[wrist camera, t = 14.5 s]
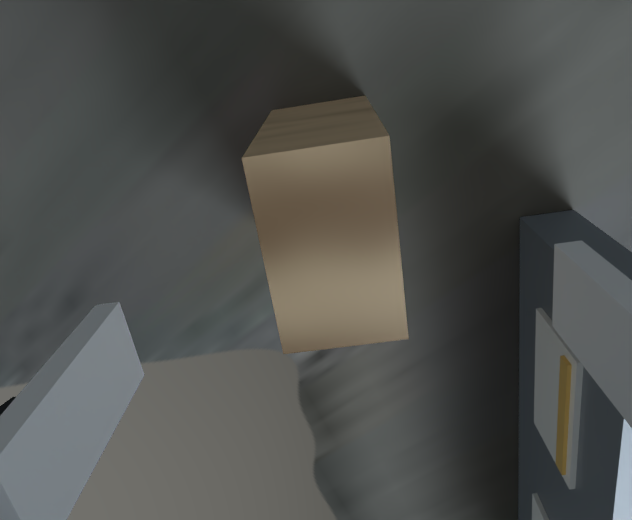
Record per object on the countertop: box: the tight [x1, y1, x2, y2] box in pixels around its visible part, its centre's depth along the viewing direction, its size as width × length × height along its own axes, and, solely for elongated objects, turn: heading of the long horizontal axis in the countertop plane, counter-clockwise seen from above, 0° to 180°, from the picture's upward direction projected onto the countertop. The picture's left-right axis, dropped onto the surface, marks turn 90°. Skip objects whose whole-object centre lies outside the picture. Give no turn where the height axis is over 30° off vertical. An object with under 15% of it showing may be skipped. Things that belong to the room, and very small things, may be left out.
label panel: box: [518, 210, 632, 520], centre depth 30 cm, size 30×4×12 cm, turn 9°
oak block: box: [242, 96, 409, 354], centre depth 24 cm, size 8×5×11 cm, turn 9°
